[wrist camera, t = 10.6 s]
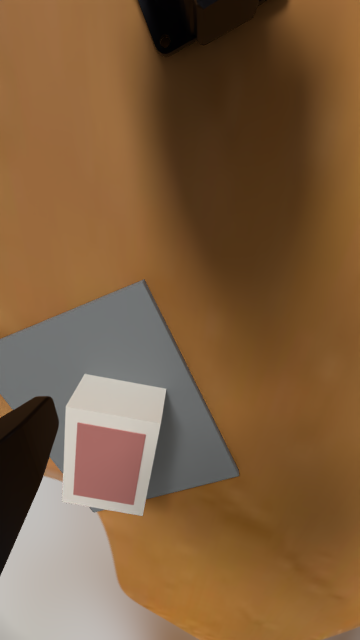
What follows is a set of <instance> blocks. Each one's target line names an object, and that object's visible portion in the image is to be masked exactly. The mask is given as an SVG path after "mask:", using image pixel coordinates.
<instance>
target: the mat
mask: <svg viewBox="0 0 360 640" xmlns="http://www.w3.org/2000/svg"><path fill="white" fill-rule="evenodd" d="M84 374H88V375H94V376H99V377H105V378H110V379H116V380H121V381H127V382H132V383H137V384H143V385H148V386H154V387H159V388H165V389H166V394H165V401H164V407H163V413H162V419H161V425H160V430H159V435H158V440H157V445H156V451H155V456H154V461H153V466H152V471H151V476H150V481H149V486H148V491H147V496H146V499H149V498H153V497H157V496H161V495H165V494H169V493H173V492H177V491H181V490H185V489H189V488H193V487H197V486H201V485H205V484H209V483H213V482H217V481H221V480H225V479H229V478H233V477H237V476H239V470H238V468H237V466H236V464H235V462H234V460H233V458H232V456H231V454H230V452H229V450H228V448H227V446H226V444H225V442H224V439H223V437H222V435H221V433H220V431H219V429H218V427H217V425H216V423H215V421H214V419H213V417H212V415H211V413H210V411H209V409H208V407H207V405H206V403H205V401H204V399H203V397H202V395H201V393H200V391H199V389H198V387H197V385H196V383H195V381H194V379H193V377H192V375H191V373H190V371H189V369H188V367H187V365H186V363H185V361H184V359H183V357H182V355H181V353H180V351H179V349H178V347H177V344H176V342H175V340H174V338H173V336H172V334H171V332H170V330H169V328H168V326H167V324H166V322H165V320H164V318H163V316H162V314H161V312H160V310H159V308H158V306H157V304H156V302H155V300H154V298H153V296H152V294H151V292H150V290H149V288H148V286H147V284H146V282H145V280H142V281H139V282H137V283H134V284H132V285H130V286H127V287H125V288H122V289H120V290H117V291H115V292H113V293H110V294H108V295H105V296H103V297H101V298H98V299H96V300H93V301H91V302H89V303H86V304H84V305H81V306H79V307H76V308H74V309H72V310H69V311H67V312H64V313H62V314H60V315H57V316H55V317H52V318H50V319H47V320H45V321H43V322H40V323H38V324H35V325H33V326H31V327H28V328H26V329H23V330H21V331H19V332H16V333H14V334H11V335H9V336H6V337H4V338H2V339H0V394H1V395H2V397H3V398H4V399H5V400H6V402H7V403H8V404H9V406H10V407H11V408H12V409H13V410H14V409H16V408H18V407H19V406H21V405H22V404H24V403H26V402H27V401H29V400H31V399H32V398H34V397H37V396H50V397H52V399H53V401H54V404H55V408H56V411H57V415H58V418H59V428H58V431H57V435H56V438H55V441H54V444H53V447H52V450H51V453H50V456H49V457H50V458H51V459H52V460H53V462H54V463H55V464H56V465H57V467H58V468H59V469H60V471H61V472H62V473H63V468H64V440H65V413H66V405H67V403H68V402H69V400H70V398H71V397H72V395H73V393H74V391H75V390H76V388H77V386H78V384H79V383H80V381H81V379H82V377H83V376H84ZM90 509H91V510H92V511H93V512H97V511H101V510H105V509H100V508H94V507H90Z"/></svg>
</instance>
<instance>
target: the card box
mask: <svg viewBox="0 0 360 640" xmlns="http://www.w3.org/2000/svg"><path fill="white" fill-rule="evenodd" d="M165 394H166V389H165V388H159V387H154V386H148V385H143V384H137V383H132V382H127V381H121V380H116V379H110V378H105V377H99V376H94V375H88V374H84V376H83V377H82V379H81V381H80V383H79V384H78V386H77V388H76V390H75V391H74V393H73V395H72V397H71V398H70V400H69V402H68V403H67V405H66V413H65V440H64V468H63V496H62V502H65V503H71V504H77V505H83V506H88V507H94V508H100V509H105V510H111V511H117V512H123V513H128V514H134V515H140V516H143V511H144V506H145V501H146V496H147V491H148V486H149V481H150V476H151V471H152V466H153V461H154V456H155V451H156V445H157V440H158V435H159V430H160V425H161V419H162V413H163V407H164V401H165Z"/></svg>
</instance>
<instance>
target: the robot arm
mask: <svg viewBox="0 0 360 640" xmlns="http://www.w3.org/2000/svg"><path fill="white" fill-rule="evenodd" d="M138 1H139V4H140V7H141V9H142V12H143V15H144V18H145V20H146V23H147V26H148V28H149V31H150V34H151V36H152V39H153V42H154V44H155V47H156V50H157V51H158V53H159V54H160V55H161V56H164V57H167V56H170V55H172V54H174V53H176V52H177V51H179V50H181V49H183V48H184V47H186V46H188V45H190V44H191V43H193V42H195V41H197V42H198V43H199V44H202V45H206V44H207V43H209V42H211V41H213V40H214V39H216V38H218V37H220V36H222V35H223V34H225V33H227V32H229V31H230V30H232V29H234V28H236V27H238V26H239V25H241V24H243V23H245V22H246V21H248V20H250V19H252V18H253V16H254V13H255V11H256V8H257V6H258V5H260V4H262V3H263V2H265V1H267V0H138ZM164 37H167V38H169V39H170V44H169V46H168V47H166V48H164V47H162V46H161V44H160V43H161V40H162V39H163V38H164ZM58 428H59V418H58V415H57V411H56V408H55V404H54V401H53V399H52V397H50V396H37V397H34V398H32V399H31V400H29V401H27V402H26V403H24V404H22V405H21V406H19V407H18V408H16V409H14V410H13V411H11V412H9V413H8V414H6V415H4V416H3V417H1V418H0V575H1V573H2V571H3V568H4V566H5V564H6V562H7V559H8V557H9V555H10V552H11V550H12V548H13V546H14V543H15V541H16V539H17V536H18V534H19V532H20V529H21V527H22V525H23V523H24V520H25V518H26V516H27V513H28V511H29V509H30V506H31V504H32V502H33V500H34V497H35V495H36V493H37V491H38V488H39V486H40V483H41V481H42V478H43V475H44V472H45V469H46V466H47V463H48V460H49V456H50V453H51V450H52V447H53V444H54V441H55V438H56V435H57V431H58Z"/></svg>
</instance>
